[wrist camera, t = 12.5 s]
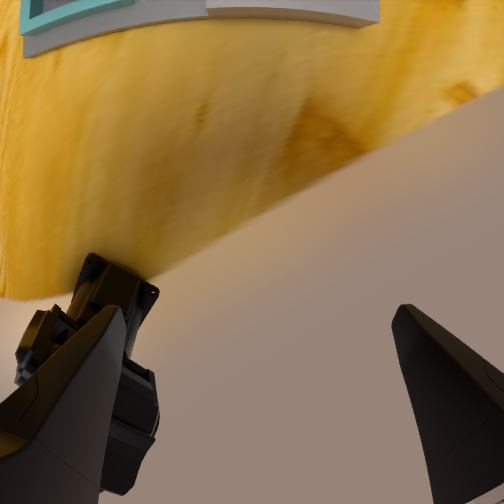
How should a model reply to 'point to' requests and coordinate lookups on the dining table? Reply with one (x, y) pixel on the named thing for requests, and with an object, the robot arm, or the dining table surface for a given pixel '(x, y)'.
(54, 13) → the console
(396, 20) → the dining table surface
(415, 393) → the robot arm
